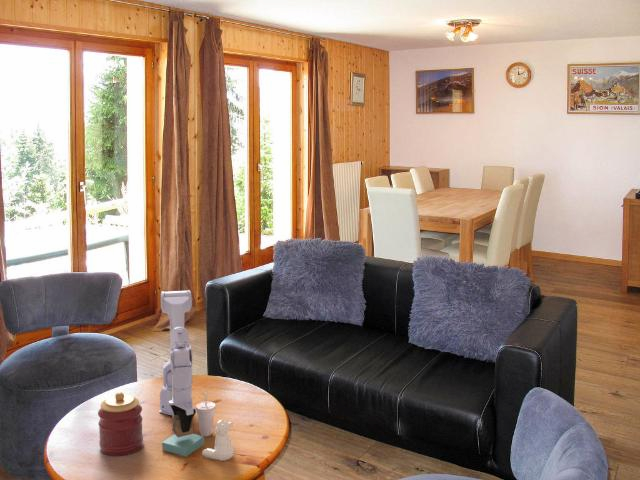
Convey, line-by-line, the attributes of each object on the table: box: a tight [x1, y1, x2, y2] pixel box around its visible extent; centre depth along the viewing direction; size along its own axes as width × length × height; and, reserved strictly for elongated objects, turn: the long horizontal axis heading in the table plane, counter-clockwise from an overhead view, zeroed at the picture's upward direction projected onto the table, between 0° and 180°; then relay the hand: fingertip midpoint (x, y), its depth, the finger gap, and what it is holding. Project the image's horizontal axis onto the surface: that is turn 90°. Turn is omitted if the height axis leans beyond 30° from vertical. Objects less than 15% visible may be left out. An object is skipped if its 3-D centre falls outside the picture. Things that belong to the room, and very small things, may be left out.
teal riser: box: [161, 433, 205, 457], centre depth 206 cm, size 9×9×2 cm
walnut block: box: [171, 415, 194, 437], centre depth 205 cm, size 5×5×5 cm
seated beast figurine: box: [201, 419, 235, 462], centre depth 200 cm, size 10×9×12 cm
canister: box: [97, 391, 144, 457], centre depth 205 cm, size 13×13×18 cm
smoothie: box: [195, 392, 217, 437], centre depth 214 cm, size 6×6×14 cm
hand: (182, 427), depth 206 cm, fingers closed on walnut block, 5 cm apart
